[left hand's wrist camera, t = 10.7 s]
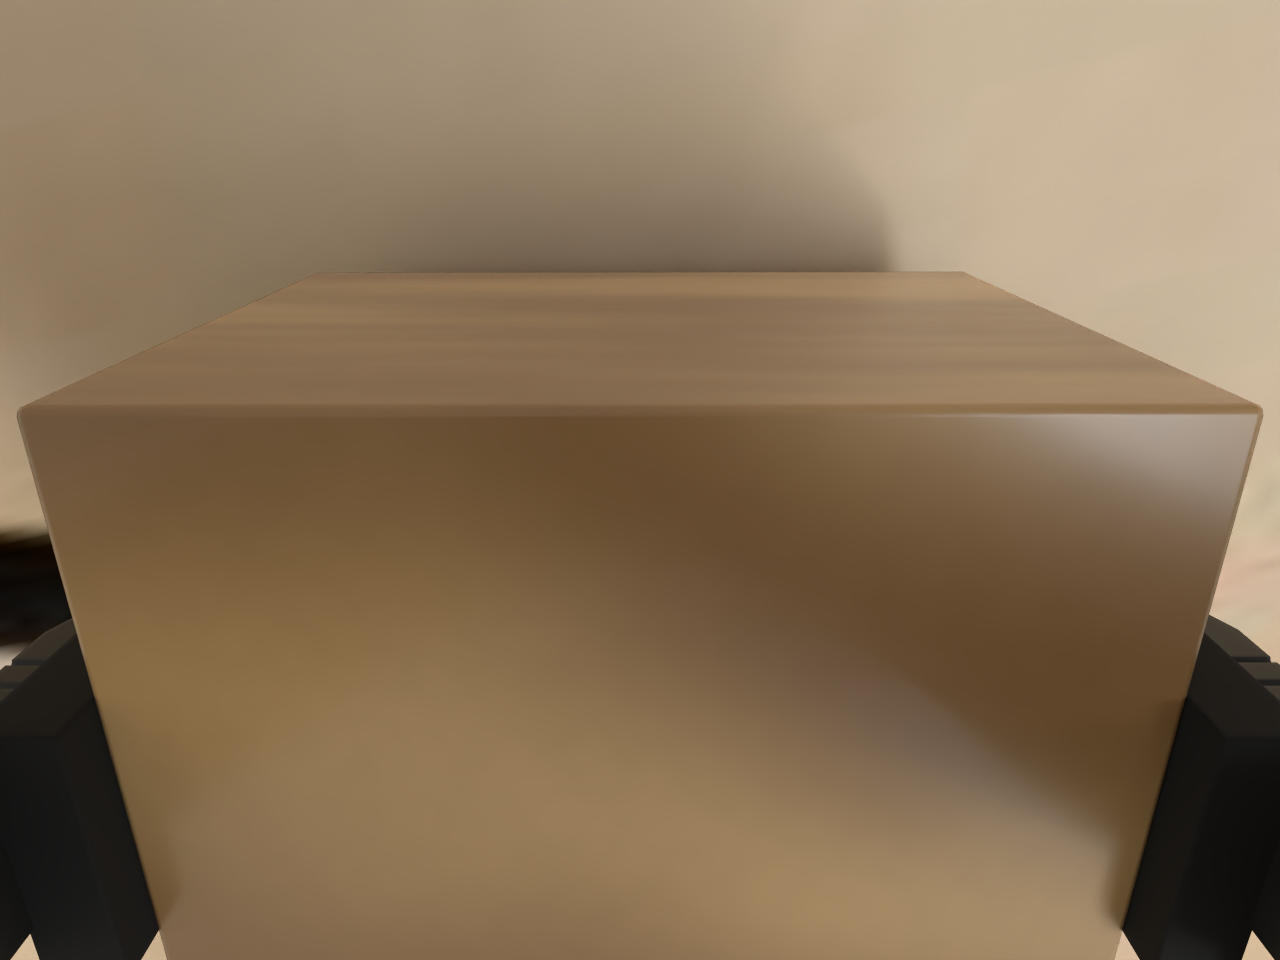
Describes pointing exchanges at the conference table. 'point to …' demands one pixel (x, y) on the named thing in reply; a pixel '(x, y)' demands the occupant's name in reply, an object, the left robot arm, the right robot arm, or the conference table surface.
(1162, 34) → the conference table surface
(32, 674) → the left robot arm
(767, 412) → the slab
